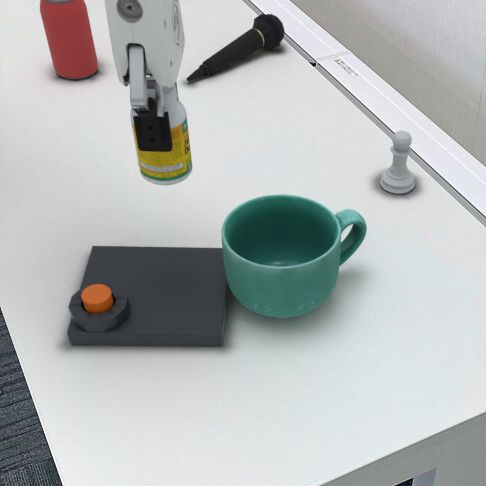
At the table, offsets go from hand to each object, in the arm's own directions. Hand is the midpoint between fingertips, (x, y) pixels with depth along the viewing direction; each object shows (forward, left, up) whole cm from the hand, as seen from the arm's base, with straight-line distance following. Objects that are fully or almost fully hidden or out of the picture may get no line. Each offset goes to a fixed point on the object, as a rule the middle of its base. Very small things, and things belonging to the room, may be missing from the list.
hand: (160, 130), depth 76 cm
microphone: (+3, +51, -19) cm, 55 cm away
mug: (+14, -3, -19) cm, 24 cm away
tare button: (-7, -9, -16) cm, 19 cm away
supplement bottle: (0, 0, -5) cm, 5 cm away
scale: (-2, -5, -19) cm, 20 cm away
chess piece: (+27, +18, -19) cm, 38 cm away
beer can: (-21, +46, -19) cm, 55 cm away
